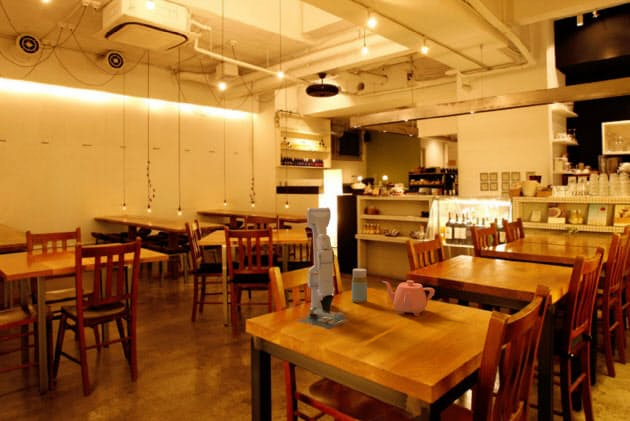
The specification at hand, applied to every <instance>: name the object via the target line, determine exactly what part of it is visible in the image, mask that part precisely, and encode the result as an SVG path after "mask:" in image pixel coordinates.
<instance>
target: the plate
mask: <svg viewBox="0 0 630 421" xmlns="http://www.w3.org/2000/svg"><path fill="white" fill-rule="evenodd" d="M323 317H325V316H322V315H318V314H317V316H309V315H307V316H306V317H303V318H301V319H297V320H296V322H300V323H302V324H303V323H304V324H308V325H312V326H314V327H315V326H316V327H320V328H324V329H327V330H330V329H333V328H335V327H337V326H339V325H342V324H344V323H347V322H349V321H350V319H348V318H345V317H344V320H343V322H340V323H338V324H336V325H335V324H331V323H328V322H329V321H332V320H334V319H333V318H332V319H331V320H329V321H326V322H323V321H318V319H320V318H323Z"/></svg>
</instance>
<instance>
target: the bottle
mask: <svg viewBox="0 0 630 421" xmlns="http://www.w3.org/2000/svg"><path fill="white" fill-rule="evenodd" d="M351 301H352V303H353V304H358V303H360V304H361V303H362V304H366V303H367V302H368V278H367V269H365V268H358V267H357V268H353V269H352V279H351Z"/></svg>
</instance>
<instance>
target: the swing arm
mask: <svg viewBox="0 0 630 421" xmlns="http://www.w3.org/2000/svg"><path fill="white" fill-rule="evenodd" d="M308 312H309V313H308V314H309V316H317V314H318V315H322V316H325V317H329V318H333V319H334V320H335V321H342V320H344V318H345V313H344V312H340V311H339V312H335V311H331V310H330V311H326V310H323V309H317V308H316V307H311V306H310V307H309V311H308Z"/></svg>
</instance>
